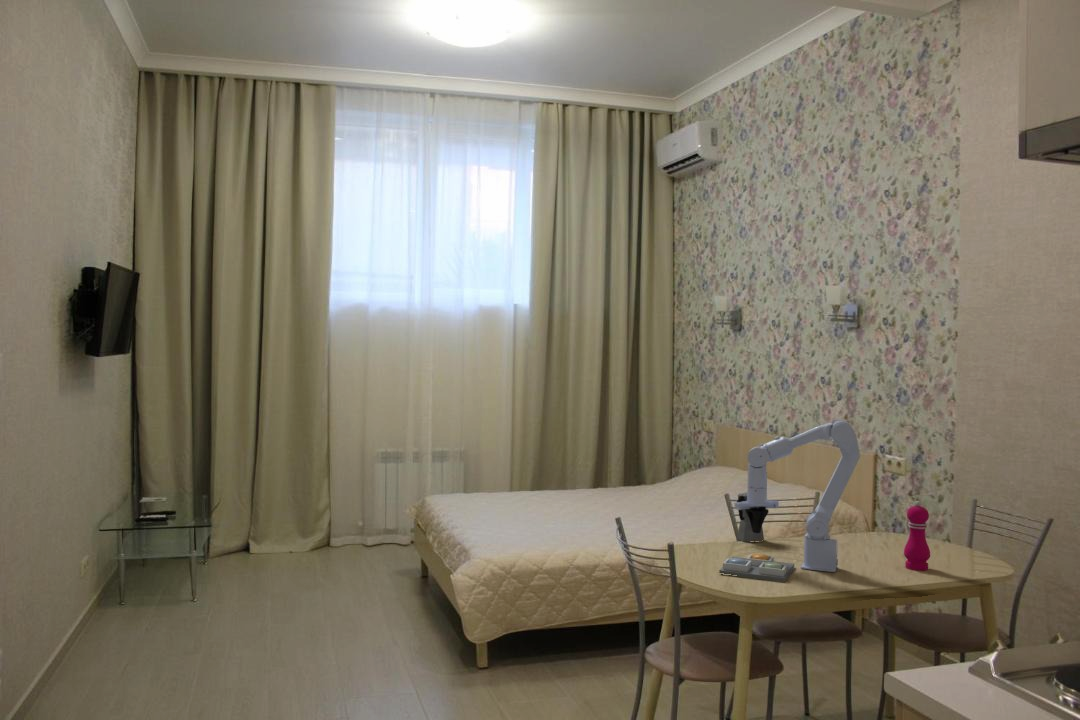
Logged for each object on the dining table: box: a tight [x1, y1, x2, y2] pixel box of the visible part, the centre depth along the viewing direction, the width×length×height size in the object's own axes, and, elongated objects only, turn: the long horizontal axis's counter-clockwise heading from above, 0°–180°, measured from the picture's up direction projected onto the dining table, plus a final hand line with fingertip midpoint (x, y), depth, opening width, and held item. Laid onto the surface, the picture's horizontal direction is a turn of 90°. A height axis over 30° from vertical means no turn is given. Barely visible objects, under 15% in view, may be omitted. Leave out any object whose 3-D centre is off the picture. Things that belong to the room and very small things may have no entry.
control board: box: [718, 553, 795, 583], centre depth 251 cm, size 18×19×3 cm
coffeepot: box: [736, 492, 765, 543], centre depth 294 cm, size 15×9×18 cm, turn 138°
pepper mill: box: [903, 500, 931, 572], centre depth 258 cm, size 7×7×20 cm
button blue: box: [729, 557, 746, 565], centre depth 249 cm, size 5×5×2 cm
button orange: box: [752, 553, 769, 560], centre depth 255 cm, size 5×5×2 cm
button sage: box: [765, 562, 782, 569], centre depth 245 cm, size 5×5×2 cm
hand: (756, 532), depth 261 cm, fingers closed
